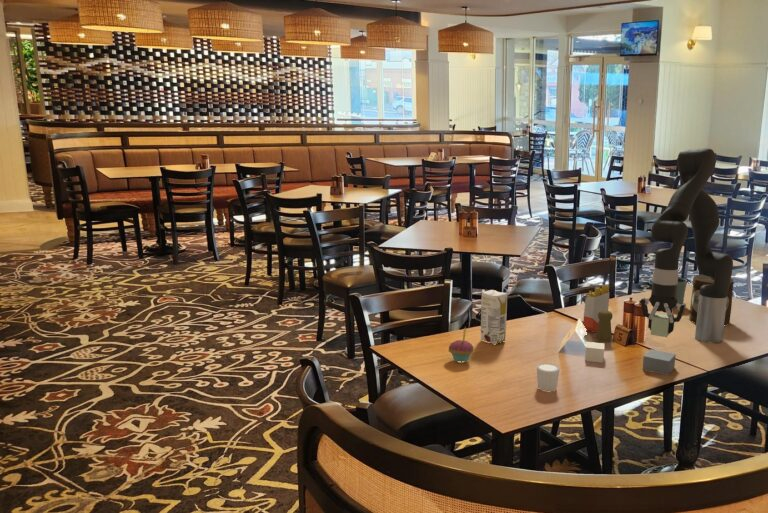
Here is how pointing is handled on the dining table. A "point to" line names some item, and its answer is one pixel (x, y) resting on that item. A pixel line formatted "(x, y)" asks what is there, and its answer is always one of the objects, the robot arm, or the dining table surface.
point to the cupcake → (461, 349)
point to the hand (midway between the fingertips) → (660, 331)
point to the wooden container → (697, 283)
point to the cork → (604, 326)
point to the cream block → (594, 352)
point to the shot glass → (547, 376)
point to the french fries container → (595, 307)
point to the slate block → (659, 362)
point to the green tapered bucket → (681, 290)
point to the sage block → (660, 325)
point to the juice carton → (493, 316)
